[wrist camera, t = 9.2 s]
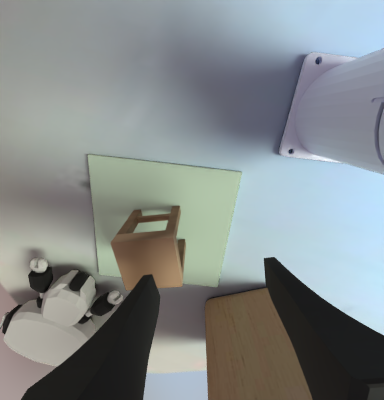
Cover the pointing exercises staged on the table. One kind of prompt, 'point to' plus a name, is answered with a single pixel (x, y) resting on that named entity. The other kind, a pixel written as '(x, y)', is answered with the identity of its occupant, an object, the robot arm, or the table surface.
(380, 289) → the table surface
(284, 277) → the robot arm
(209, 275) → the sage mat
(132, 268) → the brown handled box
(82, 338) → the robot toy
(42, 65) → the table surface
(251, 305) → the wooden block
